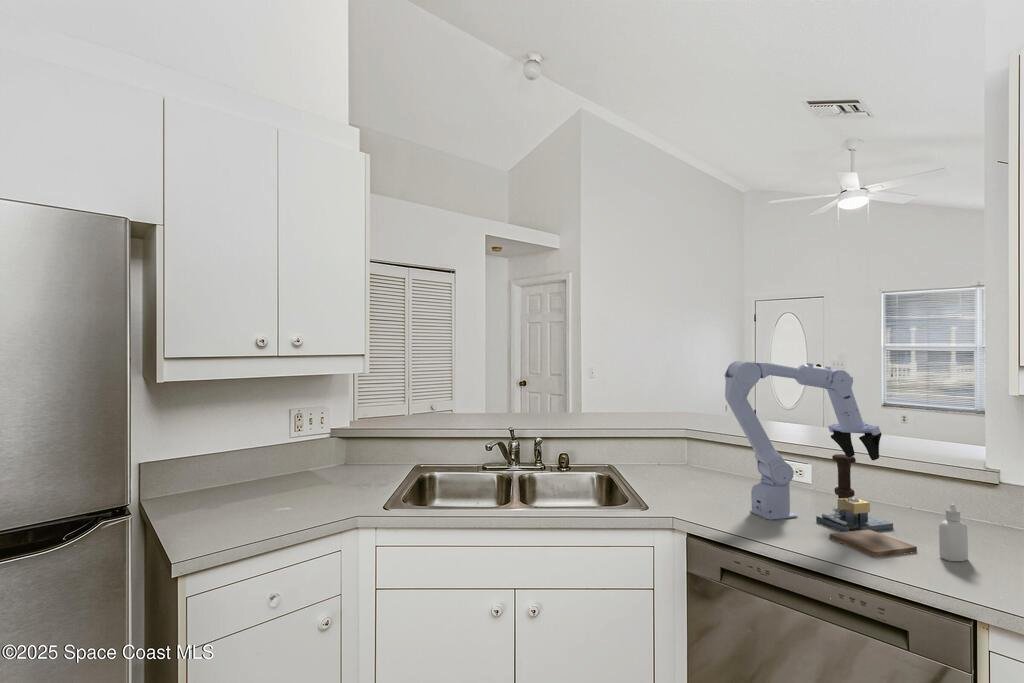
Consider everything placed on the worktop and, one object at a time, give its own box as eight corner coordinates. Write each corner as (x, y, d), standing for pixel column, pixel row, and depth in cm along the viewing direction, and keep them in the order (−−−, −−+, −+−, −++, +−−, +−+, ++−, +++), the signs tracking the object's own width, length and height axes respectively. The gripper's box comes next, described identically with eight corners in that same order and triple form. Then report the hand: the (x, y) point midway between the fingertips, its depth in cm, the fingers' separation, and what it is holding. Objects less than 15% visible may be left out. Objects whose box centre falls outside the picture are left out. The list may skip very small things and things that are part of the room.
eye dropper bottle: (933, 553, 117) (932, 500, 117) (963, 556, 115) (962, 502, 115) (943, 561, 112) (942, 506, 113) (975, 564, 111) (973, 508, 111)
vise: (849, 534, 129) (848, 506, 129) (816, 521, 139) (815, 495, 139) (893, 529, 132) (892, 501, 133) (858, 517, 142) (857, 491, 142)
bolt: (858, 510, 148) (857, 458, 148) (839, 509, 149) (838, 457, 149) (849, 504, 153) (849, 454, 153) (831, 503, 154) (830, 453, 154)
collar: (854, 513, 133) (854, 504, 133) (837, 508, 137) (837, 498, 137) (869, 512, 134) (869, 502, 134) (852, 506, 139) (852, 497, 139)
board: (875, 557, 115) (875, 552, 115) (829, 538, 126) (829, 533, 126) (916, 552, 118) (916, 546, 118) (868, 533, 129) (868, 529, 129)
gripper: (881, 406, 138) (898, 455, 137) (835, 406, 152) (851, 450, 151) (861, 415, 136) (879, 464, 136) (817, 414, 150) (832, 458, 150)
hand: (863, 457), depth 143 cm, fingers open, 7 cm apart
